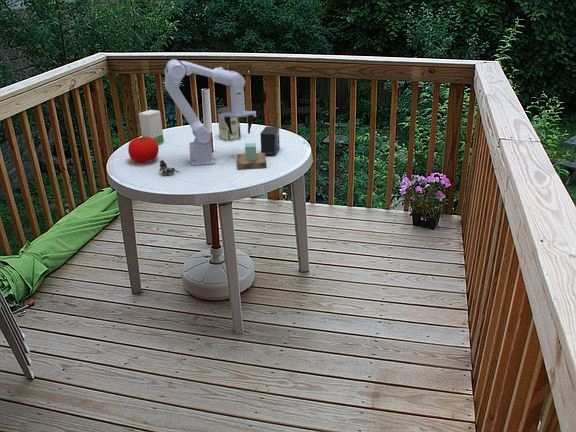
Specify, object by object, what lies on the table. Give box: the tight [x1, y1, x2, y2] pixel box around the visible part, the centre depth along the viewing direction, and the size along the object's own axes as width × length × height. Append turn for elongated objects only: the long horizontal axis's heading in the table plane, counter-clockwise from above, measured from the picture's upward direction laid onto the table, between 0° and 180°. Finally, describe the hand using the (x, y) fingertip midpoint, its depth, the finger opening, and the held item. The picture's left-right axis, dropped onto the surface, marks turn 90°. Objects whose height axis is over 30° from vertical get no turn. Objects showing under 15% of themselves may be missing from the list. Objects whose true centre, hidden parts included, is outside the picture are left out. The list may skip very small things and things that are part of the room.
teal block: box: [244, 142, 257, 161], centre depth 238 cm, size 4×4×6 cm
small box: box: [259, 125, 281, 157], centre depth 251 cm, size 11×6×10 cm, turn 168°
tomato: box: [127, 136, 160, 164], centre depth 246 cm, size 14×13×10 cm
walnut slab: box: [236, 152, 267, 171], centre depth 240 cm, size 12×12×2 cm
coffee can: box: [216, 106, 242, 142], centre depth 270 cm, size 10×10×14 cm
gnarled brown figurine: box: [159, 159, 180, 177], centre depth 233 cm, size 12×6×11 cm
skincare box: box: [138, 109, 165, 146], centre depth 265 cm, size 8×7×16 cm
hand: (240, 133), depth 245 cm, fingers open, 7 cm apart
